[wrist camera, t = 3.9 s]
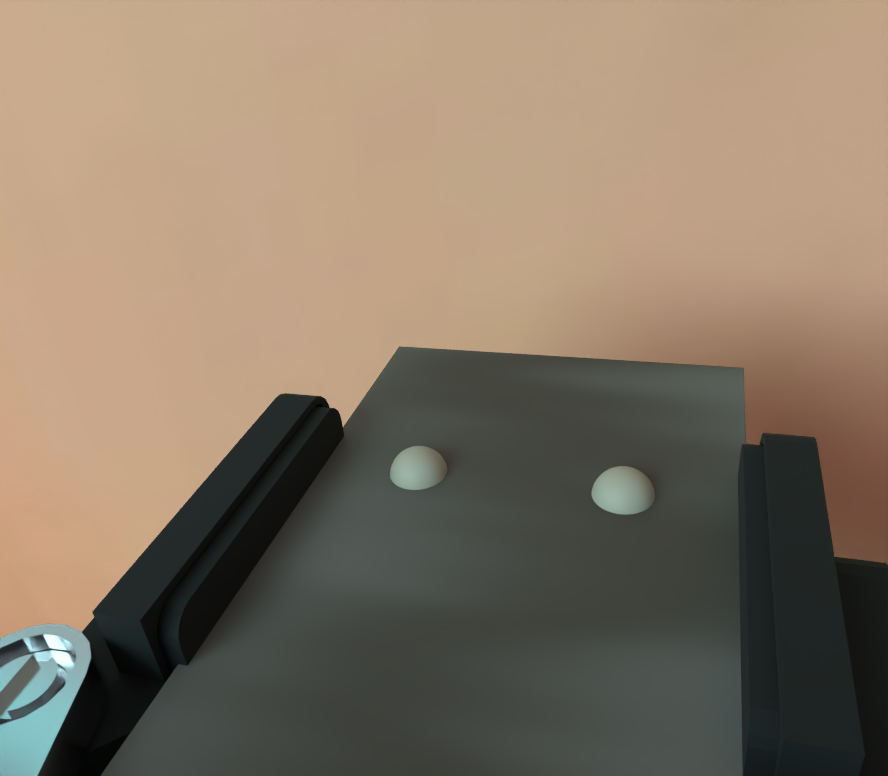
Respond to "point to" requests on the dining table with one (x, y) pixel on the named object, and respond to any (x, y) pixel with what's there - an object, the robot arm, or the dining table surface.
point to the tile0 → (487, 587)
